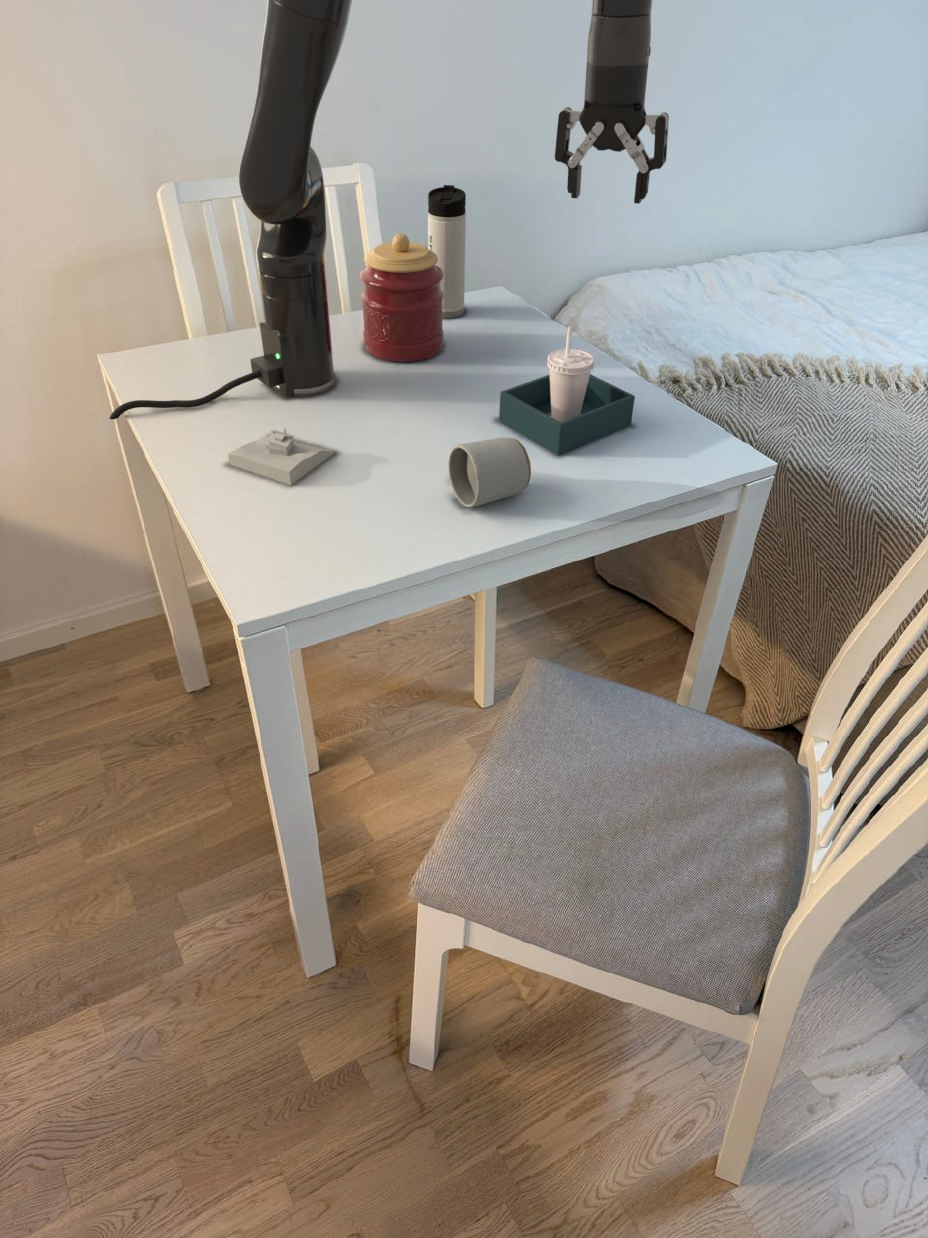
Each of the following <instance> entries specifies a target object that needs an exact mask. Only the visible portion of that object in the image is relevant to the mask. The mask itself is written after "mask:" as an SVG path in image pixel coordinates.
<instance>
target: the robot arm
mask: <svg viewBox="0 0 928 1238" xmlns="http://www.w3.org/2000/svg"><path fill="white" fill-rule="evenodd" d="M352 3H353V0H267V5H266V14H265V22H264V29H263V36H262V43H261V45H262V46H261V51H260V62H259V63H260V64H259V73H258V84H257V91H256V97H255V103H254V108H253V112H252V117H251V121H250V125H249V129H248V133H247V137H246V140H245V144H244V149H243V152H242V156H241V160H240V164H239V170H238V188H239V191H240V195H241V198H242V200H243V203H244V204H245V206H246V208H247V210H248V211H249V212H250V213H251V215H252V216H254V217H255V218H256V219H257V220H259V221H260V228H259V229H260V230H259V237H258V240H257V243H256V248H255V254H256V255H255V257H256V265H257V272H258V279H259V286H260V294H261V295H260V296H261V301H262V302H261V303H262V311H263V318H264V320H262V321H260V322H259V329H260V338H261V345H262V352H263V353H262V354H263V355H260V356H257V357H253V358H250V367H251V372H250V373H247V374H244V375H242V376H239V377H238V378H235V379H233V380H231V381H229V382H227V383H226V384H223V385H222V386H221V387H220V388H218V389H216V390H215V391H213V392H211V393H209V394H207V395H205V396H203V397H200V398H199V397H198V398H196V399H188V400H187V399H185V400H183V399H181V400H180V399H176V400H175V399H174V400H151V399H136V400H131V401H127V402H125V403H122V404H121V405H119V406H118V407H116V408H115V409H114V410H113V411H112V413H110V416H109V420H116V419H119V418H120V416H122V414H124V413H126V412H127V411H129V410H132V409H138V408H153V409H172V408H173V409H174V408H186V409H187V408H189V409H190V408H196V407H201V406H205V405H206V404H207V405H208V404H210V402H212V401H215V400H216V399H218V398H220V397H221V396H223V395H225V394H226V393H228V392H229V391H231V390H232V389H234V388H236V387H238V386H240V385H244V384H246V383H249V382H251V381H254V380H256V379H257V380H258V381H260V382H261V383H262V384H263V385H265V386H267V388H269V389H271V388H273V389H274V390H275V391H277V392H279V393H280V394H281V395H283V396H284V397H286V398H292V397H306V396H308V397H309V396H315V395H318V394H322V393H325V392H327V391H329V390H331V389H332V388H333V387H334V386H335V384H336V374H335V367H334V357H333V345H332V333H331V323H330V322H331V320H330V310H329V309H330V307H329V297H328V285H327V272H326V262H325V250H326V244H327V214H326V213H327V212H326V195H325V193H326V192H325V182H324V174H323V169H322V164H321V161H320V159H319V157H318V155H317V153H316V151H315V150H314V148H313V147H312V146H311V145H312V139H313V138H312V137H313V132H314V127H315V121H316V118H317V113H318V110H319V107H320V104H321V102H322V100H323V99H322V98H323V96H324V94H325V91H326V88H327V86H328V85H329V81H330V79H331V77H332V75H333V71H334V69H335V67H336V63H337V60H338V58H339V55H340V53H341V49H342V46H343V44H344V40H345V36H346V32H347V28H348V25H349V18H350V14H351V9H352ZM652 9H653V0H592V1H591V16H590V24H589V29H588V34H587V35H588V36H587V48H586V49H587V50H586V64H585V65H586V68H585V84H584V100H583V101H584V102H583V108H582V110H581V111H580V110H573V108H571V107H569V106H568V107H565V108H564V109H563V110H561V111H560V112H559V113H558V117H557V127H556V128H557V129H556V138H555V148H554V160H555V161H556V162H557V163H562V164H565V166H566V167H567V185H566V189H567V193H568V194H570V198H571V199H578V198H579V197H580V195H581V188H582V187H581V184H582V169H583V165H582V164H581V162H582V160H583V159H584V157H585V156H586V155H587V154H588V152H589V151H590V150H591V149H592V147H593V148H595V149H596V150H597V151H607V150H609V151H613V152H618V153H619V152H620V153H621V152H623V151H625V150H626V152H627V154H628V155H629V157H630V159H631V160H633V162H634V164H635V165H636V167H637V169H638V171H637V173H636V178H635V187H634V190H635V191H634V199H633V203H634V204H637V205H640V204H641V203H642V201H643V200H645V198H646V197H647V195H648V193H649V186H650V185H649V184H650V176H651V172H652V171H654V170H661V168H662V167H663V166H664V165H665V163H666V161H667V153H668V137H669V122H670V121H669V119H670V115H669V114H668V113H667V112H661V113H660V114H647V112H646V109H645V104H646V103H645V101H646V92H647V82H648V71H649V61H650V57H651V50H652V49H651V41H652ZM578 122H579V124H580V126H581V127H582V129H583V131H584V133H585V135H586V136H585V137H584V139H583V140H582V141H581V143H580V144H579V146H577V148H576V149H575V150H574V152H573V151H570V140H571V131H572V130H573V129H574V128H575V127H576V125H577V123H578ZM645 126H647V127H649V133H650V134H651V135H654V147H653V157H650V156H649V153H647V151H646V149H645V145H644V143H643V141H642V139H641V138H640V136H639V134H640V132H641V131H642V130H643V129H644V127H645Z"/></svg>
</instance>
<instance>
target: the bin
mask: <svg viewBox="0 0 928 1238" xmlns="http://www.w3.org/2000/svg"><path fill="white" fill-rule="evenodd" d="M635 399H636V396H635V395H634V394H632V393H629V392H628V391H626V390H624V389H622V388H620V387H617V386H616V385H613V384H612V383H610V382H607V381H606V380H603V379H602V378H599V377H597V376H595V375H593V374H592V373H590V377H589V381H588V385H587V389H586V393H585V397H584V401H583V405H582V409H581V413H580V415H579V416H576V417H574V418H571V419H568V420H566V421H563V422H559V421H557V420H555V419H554V418H552V417H551V416H550V415H548V413H551V394H550V374H547V375H545V376H542V377H539V378H536V379H533V380H530V381H527V382H524V383H521V384H518V385H516V386H513V387H510V388H507V389H505V390H501V391H500V392H499V413H498V415H499V416H498V421H499V422H500V423H502V424H503V425H505V426H507V427H509V428H510V429H511V430H514V431H515V432H517V433H519V434H521V435H522V436H524V437H525V438H527V439H529V440H531V441H533V442H534V443H536V444H537V445H540V446H541V447H542V448H545V449H546V450H547V451H550V452H551V453H553V454H555V455H556V456H560V455H562V454H565V453H567V452H569V451H573V450H574V449H576V448H577V449H578V448H579V447H582V446H584V445H586V444H589V443H591V442H594V441H596V440H598V439H601V438H604V437H605V436H608V435H611V434H613V433H616V432H618V431H620V430H623V429H625V428H628V427H631V426H632V420H633V412H634V405H635Z"/></svg>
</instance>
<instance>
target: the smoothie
mask: <svg viewBox="0 0 928 1238" xmlns="http://www.w3.org/2000/svg"><path fill="white" fill-rule="evenodd" d="M572 332H573V326H572V325H568V326H567V334H566V345H565V348H562V349H557V350H554V351H552V352H550V353H549V354H548V356H547V362H546V365H547V367H548V368H549V375H550V394H551V412H550V413H551V416H550V417H552V418H554V419H555V420H557V421H559V422H563V421H566V420H568V419H571V418H574V417H576V416H579V415H581V414H580V413H581V409H582V405H583V401H584V397H585V393H586V389H587V385H588V381H589V377H590V374H591V372H592V371H593V370H594V368H595V357H594V356H593V355H592V354H591V353H589V352H586V351H584V350H581V349H575V348H571V345H572V344H571V343H572Z"/></svg>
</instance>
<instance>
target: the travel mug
mask: <svg viewBox="0 0 928 1238" xmlns="http://www.w3.org/2000/svg"><path fill="white" fill-rule="evenodd" d="M427 193H428V194H427V205H428V208H427V248H428V249H429V250H430V251H432V252H434V253H435V254H436V255H437V256H438V262H437V263H436V265H437V266H438V267H439V268H441V270H442V271H443V274H444V276H443V279H442V280H441V281H440V289H441V291H442V292H443V295H444V297H443V300H442V319H454V318H458V317H460V316H462V315H463V314H464V312H465V283H466V282H465V280H466V278H465V277H466V275H465V274H466V225H467V224H466V222H467V221H466V219H467V217H466V216H467V215H466V214H467V213H466V206H467V205H466V203H467V201H466V200H467V199H466V198H467V197H466V196H467V195H466V192H465V190H463V189H461V188H458V187H455V185H454V184H453V185H451V184H444V185H443V186H442V187H441V186H440V187H436V188H432V190H430V191H429V192H427Z"/></svg>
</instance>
